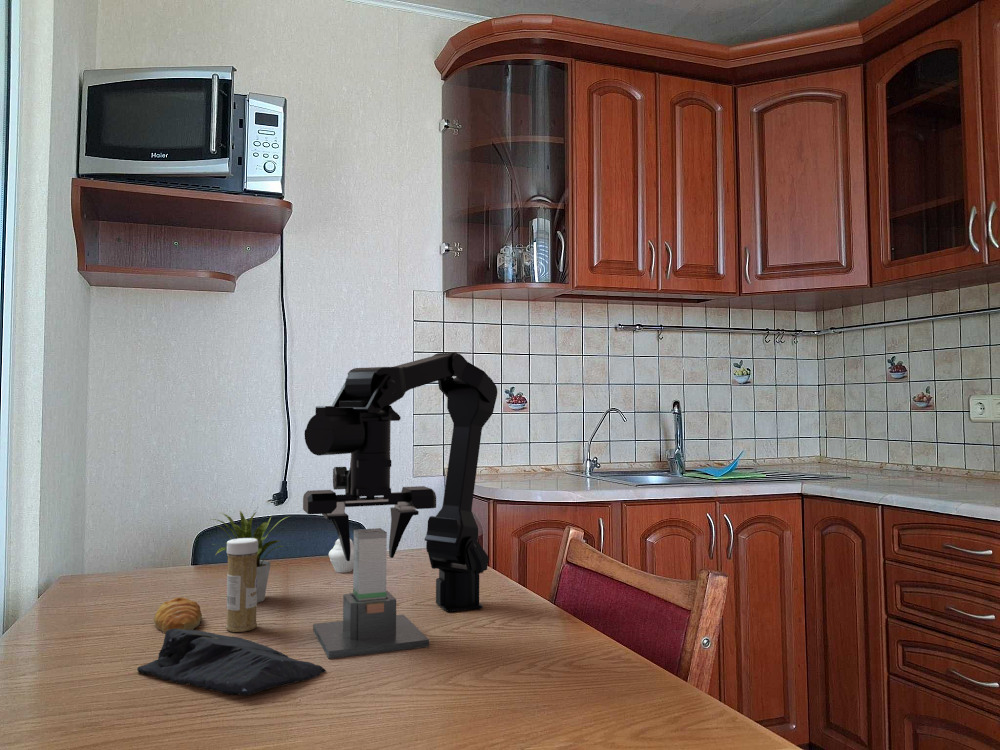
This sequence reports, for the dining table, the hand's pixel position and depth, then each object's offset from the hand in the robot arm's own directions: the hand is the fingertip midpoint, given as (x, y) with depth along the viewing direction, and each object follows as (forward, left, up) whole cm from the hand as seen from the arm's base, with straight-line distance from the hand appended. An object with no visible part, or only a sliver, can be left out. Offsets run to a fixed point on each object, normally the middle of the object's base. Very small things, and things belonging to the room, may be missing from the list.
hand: (369, 558), depth 111 cm
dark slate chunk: (+19, +7, -12) cm, 24 cm away
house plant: (+16, -30, -12) cm, 36 cm away
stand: (0, 0, -12) cm, 12 cm away
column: (0, 0, -6) cm, 6 cm away
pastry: (+26, -17, -12) cm, 33 cm away
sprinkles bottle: (+17, -12, -12) cm, 24 cm away
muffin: (-5, -47, -12) cm, 49 cm away
